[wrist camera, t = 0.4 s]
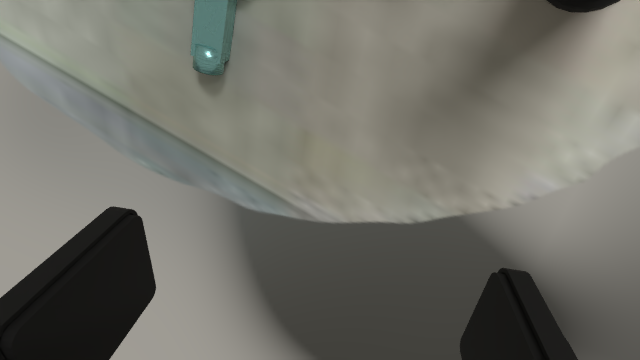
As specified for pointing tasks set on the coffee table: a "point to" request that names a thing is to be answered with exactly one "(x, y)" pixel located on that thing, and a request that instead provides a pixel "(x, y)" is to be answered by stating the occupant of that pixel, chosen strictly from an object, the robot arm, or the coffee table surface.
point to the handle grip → (581, 4)
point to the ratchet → (212, 34)
